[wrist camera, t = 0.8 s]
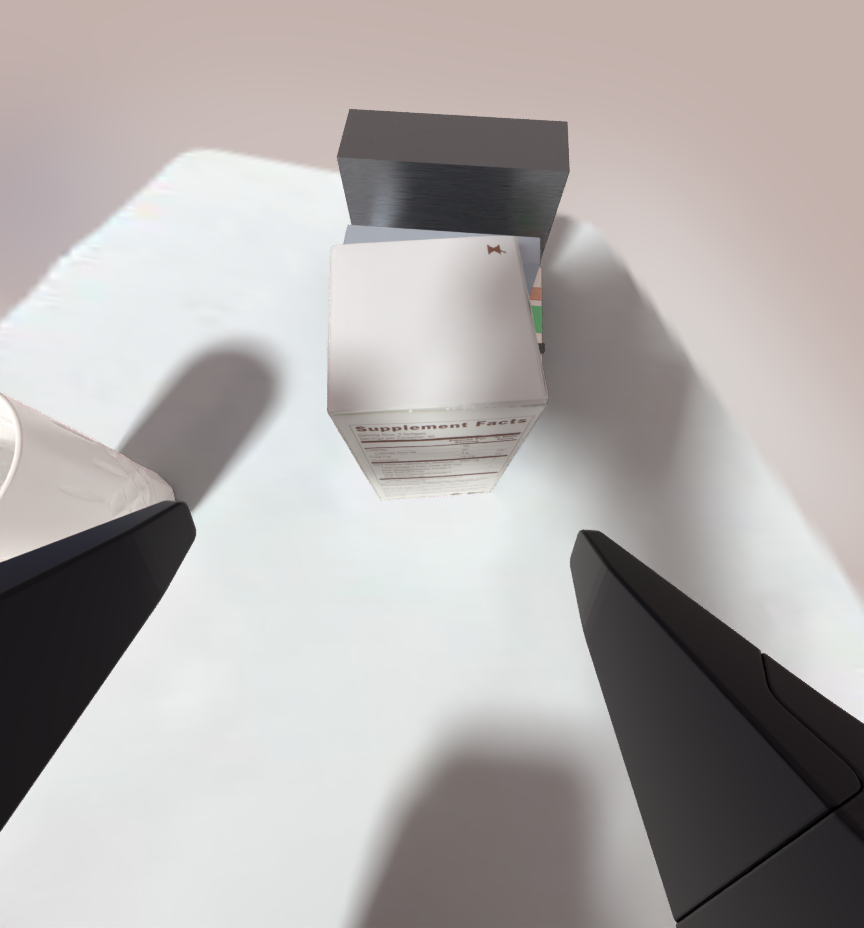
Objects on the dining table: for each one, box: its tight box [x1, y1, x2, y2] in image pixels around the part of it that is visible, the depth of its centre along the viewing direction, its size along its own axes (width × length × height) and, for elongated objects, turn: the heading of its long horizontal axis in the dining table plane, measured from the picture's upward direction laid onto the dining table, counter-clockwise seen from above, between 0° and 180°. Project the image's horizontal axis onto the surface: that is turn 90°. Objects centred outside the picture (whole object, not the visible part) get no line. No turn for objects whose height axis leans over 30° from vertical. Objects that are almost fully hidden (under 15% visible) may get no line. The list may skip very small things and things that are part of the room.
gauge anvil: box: [337, 109, 570, 361], centre depth 23 cm, size 12×12×10 cm
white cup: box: [0, 392, 175, 562], centre depth 18 cm, size 8×8×10 cm
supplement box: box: [327, 236, 549, 501], centre depth 18 cm, size 7×7×13 cm
